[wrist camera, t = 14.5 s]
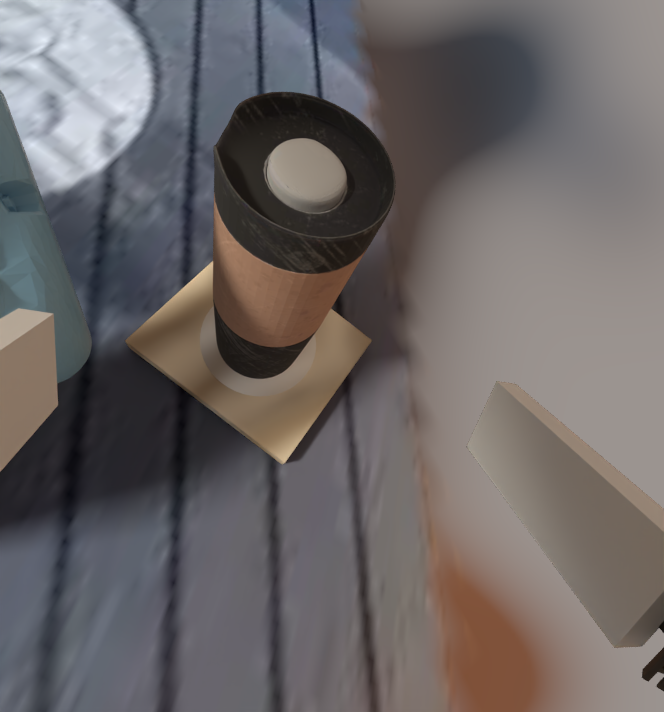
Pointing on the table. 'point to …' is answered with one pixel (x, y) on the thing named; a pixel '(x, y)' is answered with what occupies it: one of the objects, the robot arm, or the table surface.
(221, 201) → the travel mug
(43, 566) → the table surface
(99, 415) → the table surface
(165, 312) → the coaster board
